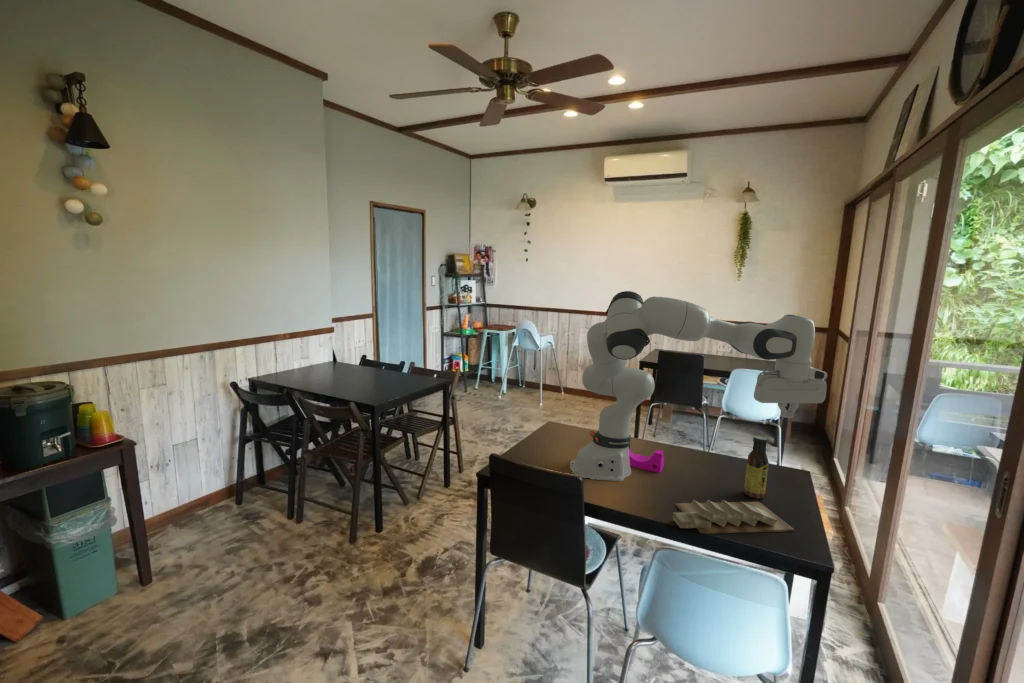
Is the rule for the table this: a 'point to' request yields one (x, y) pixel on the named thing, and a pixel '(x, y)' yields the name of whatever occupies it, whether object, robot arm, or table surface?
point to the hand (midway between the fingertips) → (786, 417)
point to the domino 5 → (757, 513)
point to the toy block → (648, 461)
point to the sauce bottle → (757, 469)
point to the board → (743, 526)
